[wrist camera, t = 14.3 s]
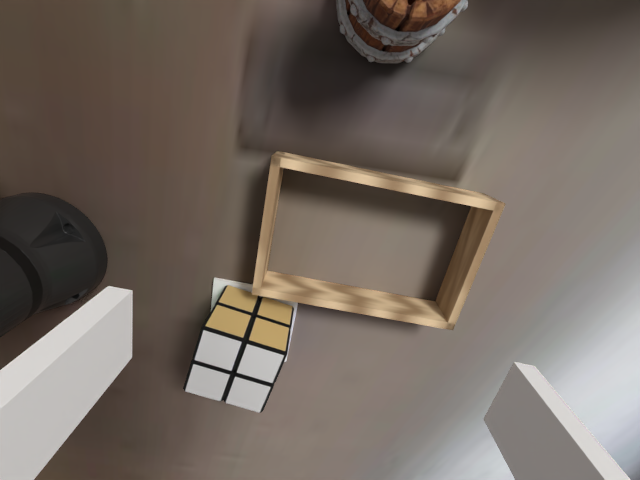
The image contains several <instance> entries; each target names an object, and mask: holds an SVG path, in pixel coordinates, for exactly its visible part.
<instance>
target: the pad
mask: <svg viewBox="0 0 640 480" xmlns="http://www.w3.org/2000/svg"><path fill="white" fill-rule="evenodd" d="M227 285H230V286H233V287H236V288H239V289H242V290H245V291H248V292H251V293H252V289H253V284H248V283H242V282H237V281H231V280H226V279H220V278H214V282H213V293H212V303H211V310H212V309H213V307H214V306H215V303H216V302H217V300H218V298H219V296H220V294H221V293H222V291H223V289H224V287H225V286H227ZM259 297H260V298H261V297H264V296H259ZM266 298H269V297H266ZM269 299H272V300H275V301H278V302H281V303H284V304H288V305H291V306H293V308H294V312H293V319H292V326H291V333H290V339H289V345H290V340H291V335H292V330H293V326H294V321H295V316H296V311H297V306H298V303H297V302H292V301H286V300H280V299H275V298H269ZM288 350H289V346H288ZM287 355H288V353H287ZM286 360H287V356H286V358H285V361H284V362H286Z"/></svg>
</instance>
